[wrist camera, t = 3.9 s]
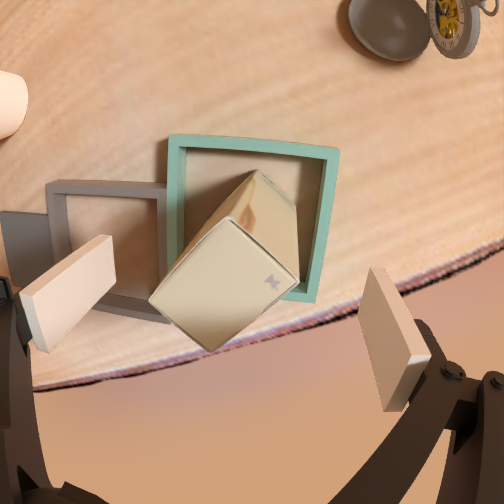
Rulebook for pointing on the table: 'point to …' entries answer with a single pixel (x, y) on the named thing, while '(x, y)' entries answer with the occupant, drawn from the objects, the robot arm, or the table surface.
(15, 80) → the cup
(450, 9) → the pocket watch
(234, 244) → the skincare box
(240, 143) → the teal frame
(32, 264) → the slate mat
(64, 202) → the grey frame
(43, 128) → the table surface
